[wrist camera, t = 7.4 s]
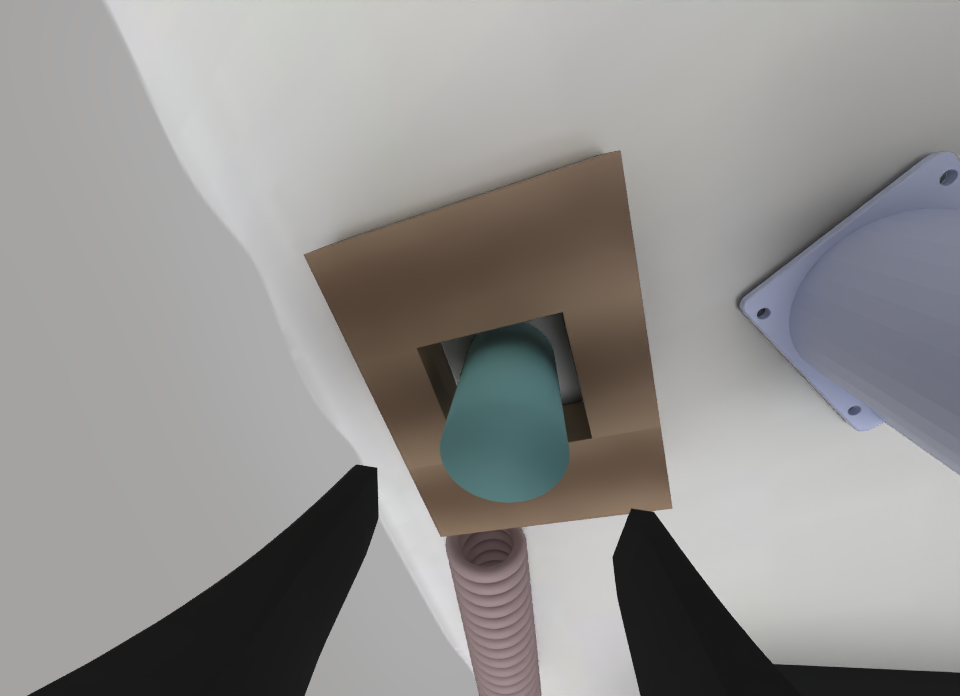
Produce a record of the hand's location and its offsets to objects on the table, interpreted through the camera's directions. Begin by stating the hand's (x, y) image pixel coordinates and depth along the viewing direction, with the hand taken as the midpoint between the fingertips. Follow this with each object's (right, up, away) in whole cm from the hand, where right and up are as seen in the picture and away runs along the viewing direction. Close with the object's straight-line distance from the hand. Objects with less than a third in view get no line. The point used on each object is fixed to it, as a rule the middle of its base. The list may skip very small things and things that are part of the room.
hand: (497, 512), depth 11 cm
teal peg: (+1, +4, +8) cm, 9 cm away
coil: (+1, -13, +17) cm, 21 cm away
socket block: (+1, +4, +8) cm, 9 cm away
